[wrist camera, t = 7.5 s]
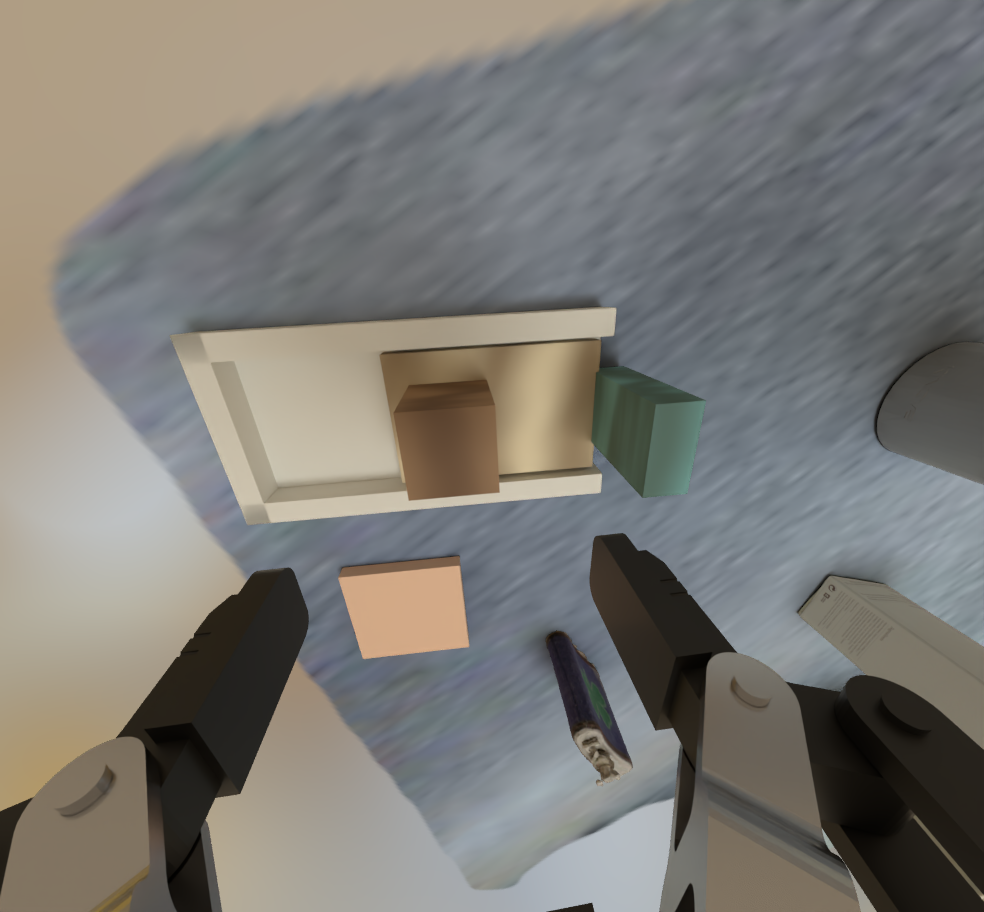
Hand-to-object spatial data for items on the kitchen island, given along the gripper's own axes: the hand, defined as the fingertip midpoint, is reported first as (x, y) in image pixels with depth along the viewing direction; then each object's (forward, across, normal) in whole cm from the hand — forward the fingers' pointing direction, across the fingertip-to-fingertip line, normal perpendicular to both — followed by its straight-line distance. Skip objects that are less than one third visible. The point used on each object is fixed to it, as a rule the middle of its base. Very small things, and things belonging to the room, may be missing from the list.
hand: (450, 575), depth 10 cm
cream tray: (+17, +2, +1) cm, 17 cm away
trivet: (+17, +5, +19) cm, 26 cm away
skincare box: (+16, -40, +24) cm, 49 cm away
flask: (+17, -10, +29) cm, 35 cm away
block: (+15, 0, +1) cm, 15 cm away
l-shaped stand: (+16, -4, +1) cm, 17 cm away
